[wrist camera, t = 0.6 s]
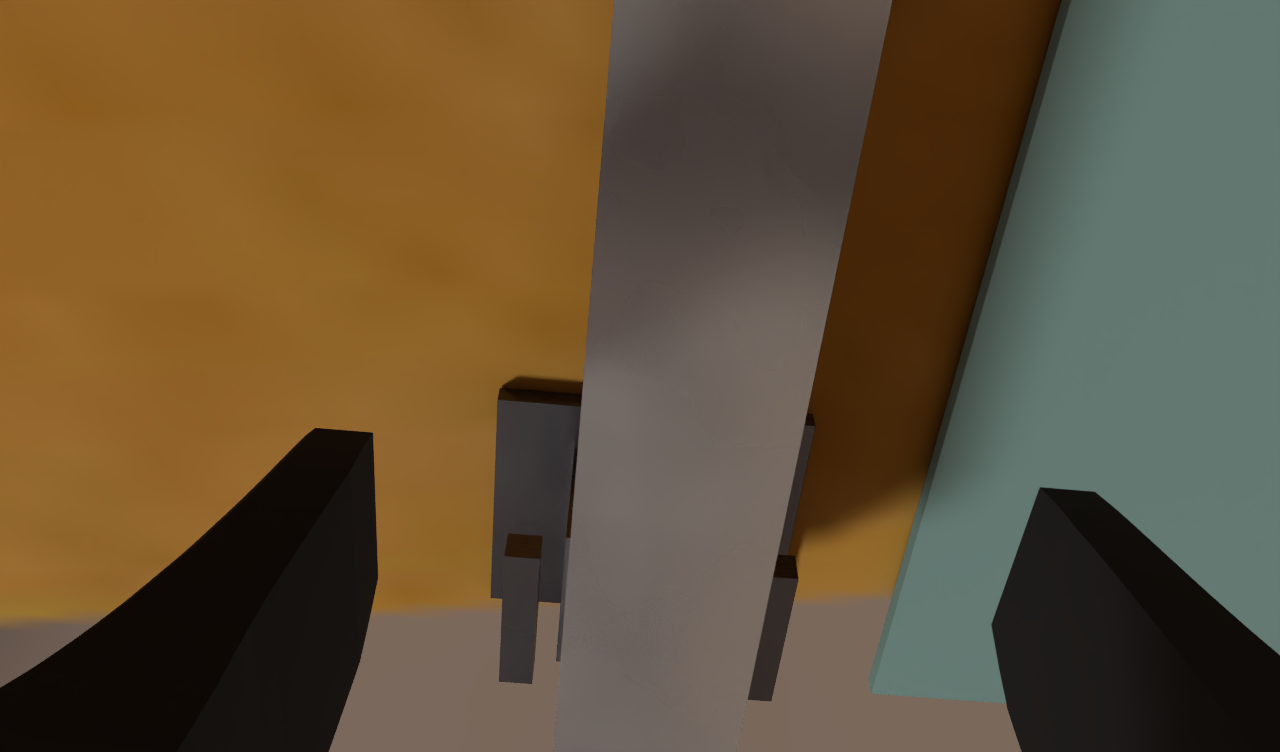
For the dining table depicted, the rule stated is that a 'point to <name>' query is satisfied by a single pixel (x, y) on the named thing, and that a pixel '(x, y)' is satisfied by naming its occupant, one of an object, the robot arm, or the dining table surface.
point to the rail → (702, 350)
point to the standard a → (541, 530)
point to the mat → (1116, 332)
